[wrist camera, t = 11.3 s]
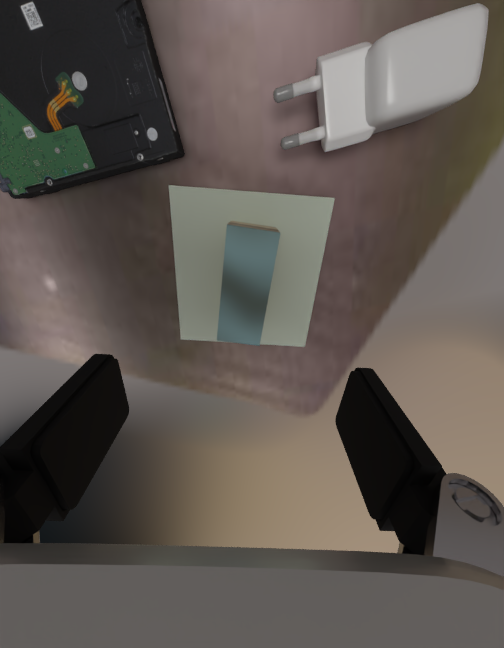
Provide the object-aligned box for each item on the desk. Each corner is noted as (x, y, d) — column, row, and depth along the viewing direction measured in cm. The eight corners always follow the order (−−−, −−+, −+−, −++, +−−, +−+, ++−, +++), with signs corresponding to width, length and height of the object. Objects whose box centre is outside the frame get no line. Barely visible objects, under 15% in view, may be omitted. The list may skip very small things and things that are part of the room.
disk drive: (134, -31, 16) (-60, 42, 17) (112, -75, 13) (-113, 15, 14) (189, 157, 20) (33, 202, 22) (180, 151, 18) (4, 202, 19)
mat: (182, 336, 27) (180, 339, 27) (170, 185, 20) (168, 185, 20) (303, 344, 28) (304, 346, 27) (332, 198, 21) (334, 198, 20)
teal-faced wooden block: (231, 220, 21) (226, 224, 18) (275, 227, 21) (280, 232, 18) (221, 320, 26) (216, 340, 22) (258, 325, 26) (259, 345, 22)
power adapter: (279, 169, 20) (288, 158, 15) (267, 94, 18) (272, 50, 13) (419, 129, 19) (484, 102, 14) (425, 43, 17) (504, -29, 11)
